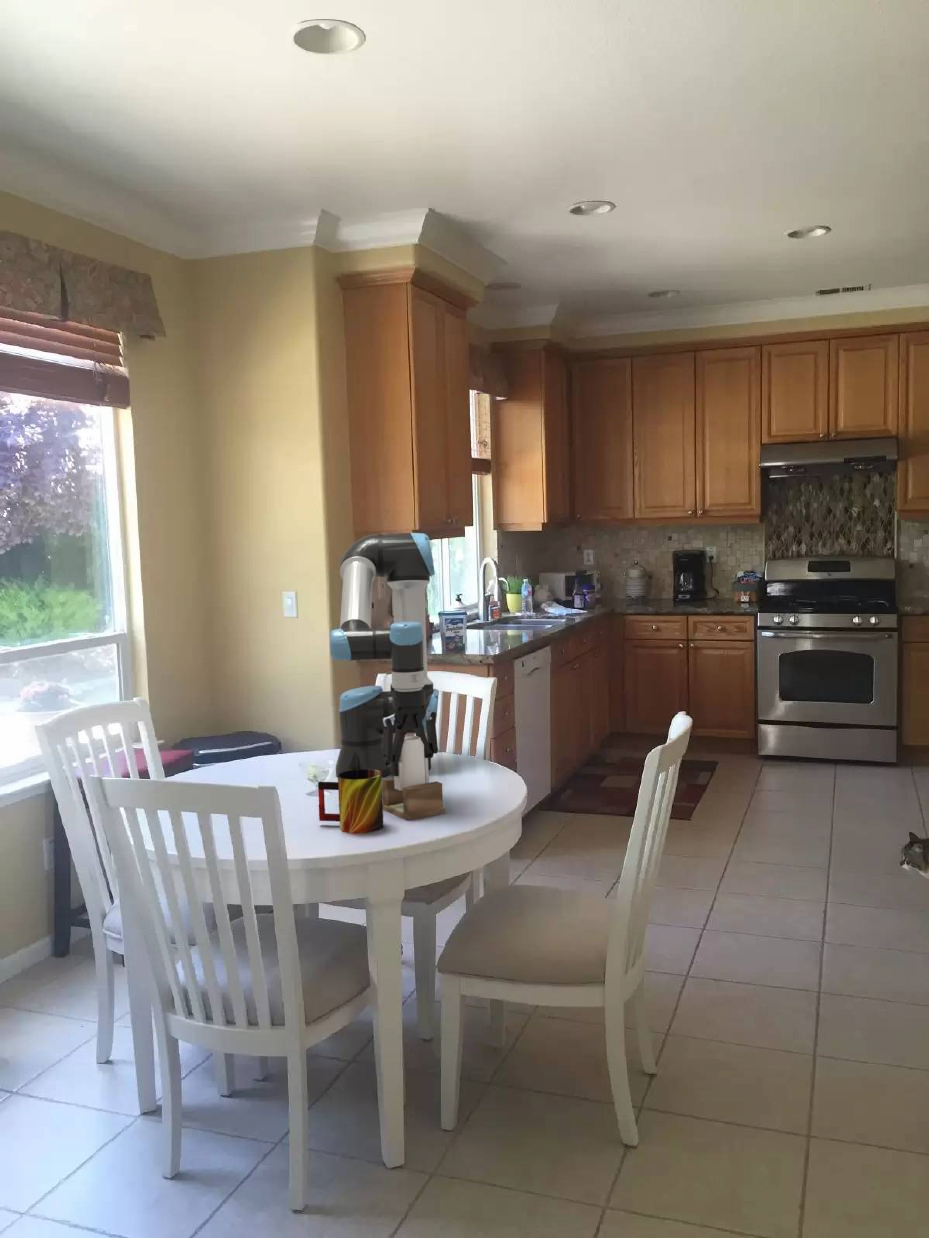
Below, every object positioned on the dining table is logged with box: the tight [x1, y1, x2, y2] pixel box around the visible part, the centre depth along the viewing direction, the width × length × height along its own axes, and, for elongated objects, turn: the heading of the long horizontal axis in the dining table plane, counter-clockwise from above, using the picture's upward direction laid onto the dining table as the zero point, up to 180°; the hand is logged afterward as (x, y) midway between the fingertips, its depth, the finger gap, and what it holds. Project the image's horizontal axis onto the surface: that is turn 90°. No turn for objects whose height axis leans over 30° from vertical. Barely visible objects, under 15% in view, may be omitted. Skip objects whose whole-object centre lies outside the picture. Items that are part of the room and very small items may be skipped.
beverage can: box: [399, 735, 425, 787], centre depth 238 cm, size 6×6×12 cm
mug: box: [317, 769, 384, 835], centre depth 226 cm, size 10×14×12 cm
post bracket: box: [382, 776, 446, 821], centre depth 239 cm, size 13×10×7 cm
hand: (411, 786), depth 239 cm, fingers closed on beverage can, 6 cm apart
